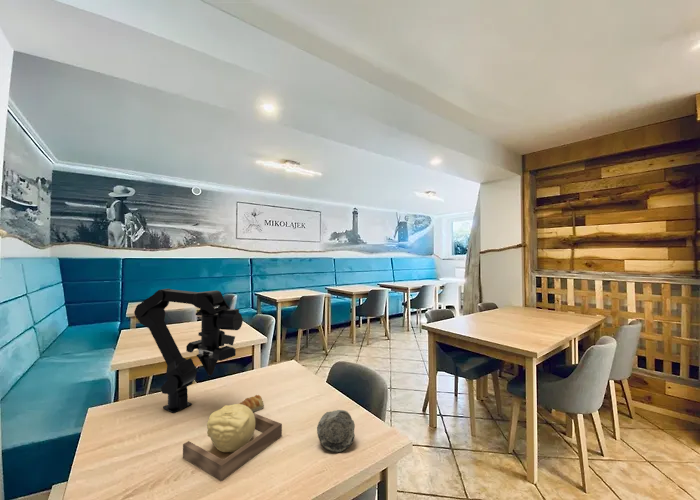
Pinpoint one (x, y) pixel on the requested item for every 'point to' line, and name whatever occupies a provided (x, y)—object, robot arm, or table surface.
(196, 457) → the frame
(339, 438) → the fossil
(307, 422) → the table surface
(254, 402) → the pastry
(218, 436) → the sculpture
